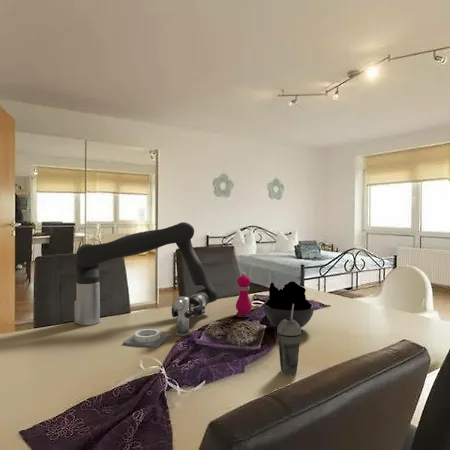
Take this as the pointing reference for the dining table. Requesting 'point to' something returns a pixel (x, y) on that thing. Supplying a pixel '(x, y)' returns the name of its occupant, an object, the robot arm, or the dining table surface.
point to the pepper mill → (243, 295)
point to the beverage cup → (289, 344)
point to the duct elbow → (182, 315)
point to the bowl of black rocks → (288, 304)
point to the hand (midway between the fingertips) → (180, 315)
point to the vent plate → (151, 344)
